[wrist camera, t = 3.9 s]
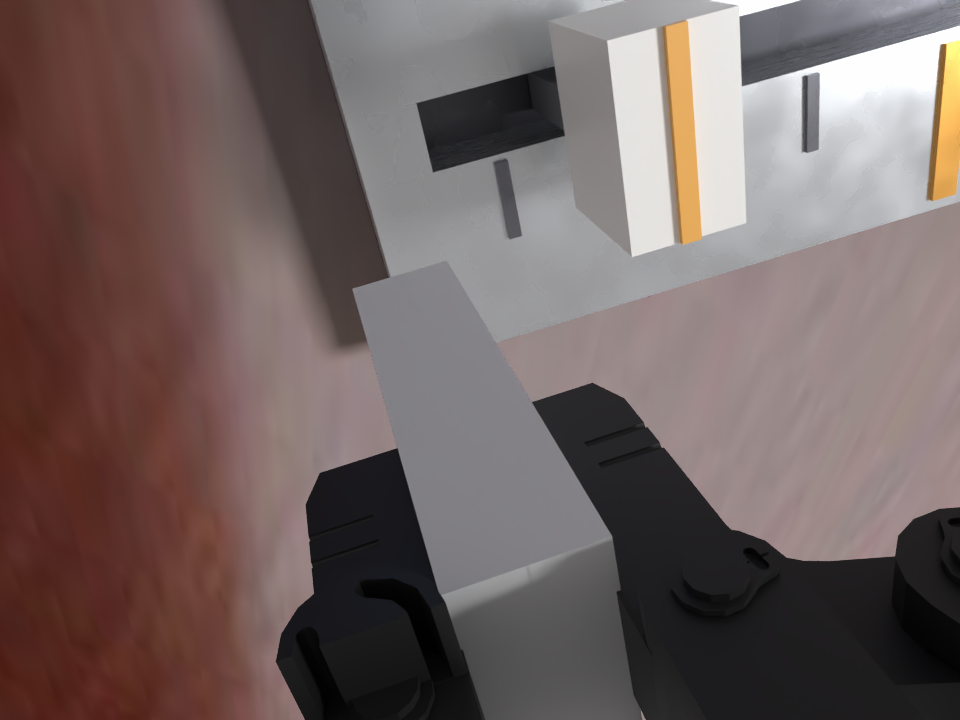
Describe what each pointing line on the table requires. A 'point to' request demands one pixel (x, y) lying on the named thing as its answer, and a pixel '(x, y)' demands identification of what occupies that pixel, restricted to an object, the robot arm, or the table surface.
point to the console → (544, 159)
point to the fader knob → (650, 118)
